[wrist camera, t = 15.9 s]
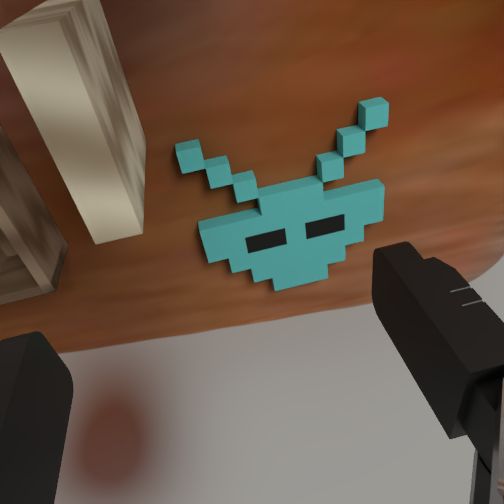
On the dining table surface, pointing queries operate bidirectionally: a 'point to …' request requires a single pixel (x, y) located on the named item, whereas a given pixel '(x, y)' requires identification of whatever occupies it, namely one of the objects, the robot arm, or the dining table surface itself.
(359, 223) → the alien figure
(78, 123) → the birch panel
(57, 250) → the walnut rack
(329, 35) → the dining table surface
